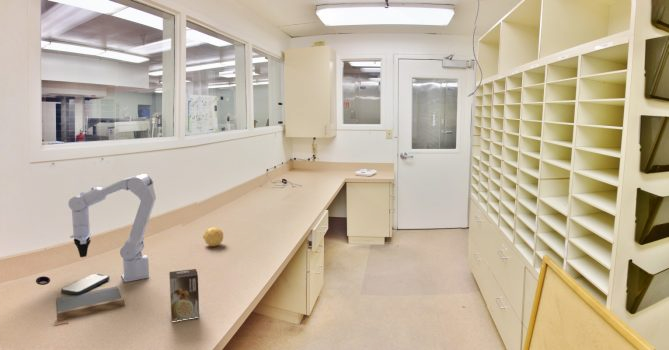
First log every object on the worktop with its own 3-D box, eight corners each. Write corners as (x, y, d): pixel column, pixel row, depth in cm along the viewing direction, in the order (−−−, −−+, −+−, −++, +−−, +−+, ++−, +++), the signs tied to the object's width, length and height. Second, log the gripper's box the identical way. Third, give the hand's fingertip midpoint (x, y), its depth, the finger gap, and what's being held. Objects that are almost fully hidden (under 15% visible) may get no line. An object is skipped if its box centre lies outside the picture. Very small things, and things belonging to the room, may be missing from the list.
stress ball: (214, 243, 217) (199, 233, 213) (226, 230, 217) (212, 220, 213) (214, 253, 208) (199, 242, 204) (227, 239, 208) (212, 228, 204)
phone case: (78, 296, 151) (111, 279, 166) (78, 292, 150) (111, 275, 166) (59, 293, 153) (93, 276, 168) (59, 289, 153) (93, 273, 168)
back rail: (124, 304, 147) (123, 297, 146) (124, 305, 145) (124, 299, 145) (57, 318, 135) (57, 311, 134) (58, 320, 134) (57, 313, 133)
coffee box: (197, 310, 144) (197, 268, 142) (199, 319, 138) (198, 275, 136) (170, 314, 141) (169, 271, 138) (170, 323, 135) (169, 278, 132)
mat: (117, 286, 161) (116, 285, 160) (124, 304, 147) (124, 303, 146) (56, 298, 149) (56, 297, 149) (57, 319, 135) (57, 317, 135)
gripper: (68, 221, 167) (70, 252, 169) (70, 230, 156) (72, 263, 158) (88, 218, 171) (90, 249, 173) (91, 227, 160) (93, 260, 162)
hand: (83, 255), depth 166 cm, fingers closed
